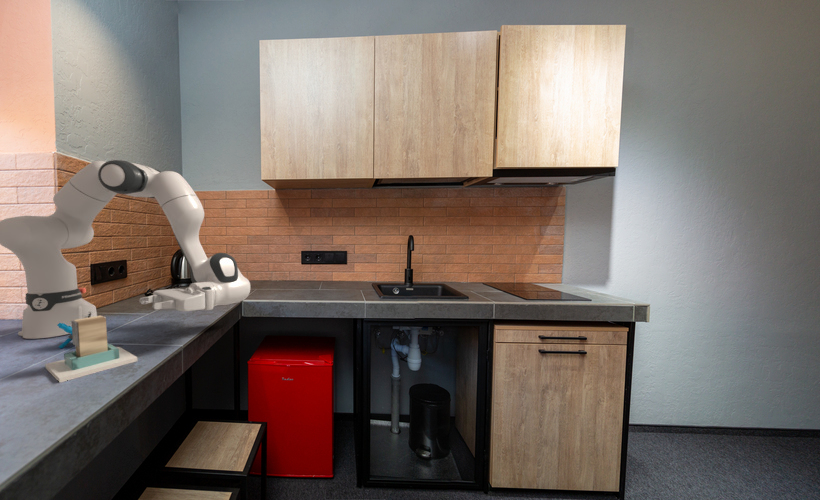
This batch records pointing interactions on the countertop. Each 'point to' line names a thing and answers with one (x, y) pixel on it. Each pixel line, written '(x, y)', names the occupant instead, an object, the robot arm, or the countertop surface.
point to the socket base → (89, 363)
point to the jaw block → (89, 335)
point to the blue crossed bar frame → (68, 330)
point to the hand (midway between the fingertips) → (146, 303)
